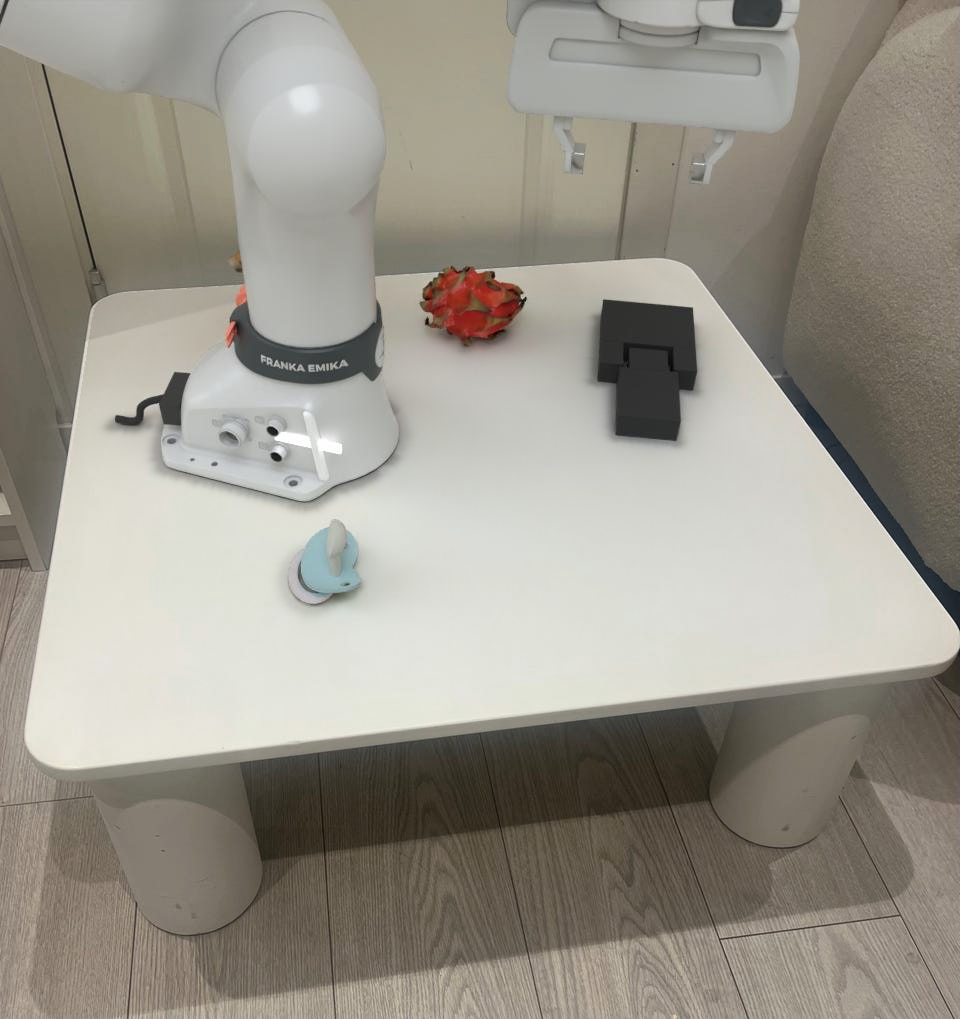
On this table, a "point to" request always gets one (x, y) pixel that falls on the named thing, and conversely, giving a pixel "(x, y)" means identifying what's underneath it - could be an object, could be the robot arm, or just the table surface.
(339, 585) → the pacifier
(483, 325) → the dragon fruit
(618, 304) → the notch pad
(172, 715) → the table surface
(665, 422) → the pad
